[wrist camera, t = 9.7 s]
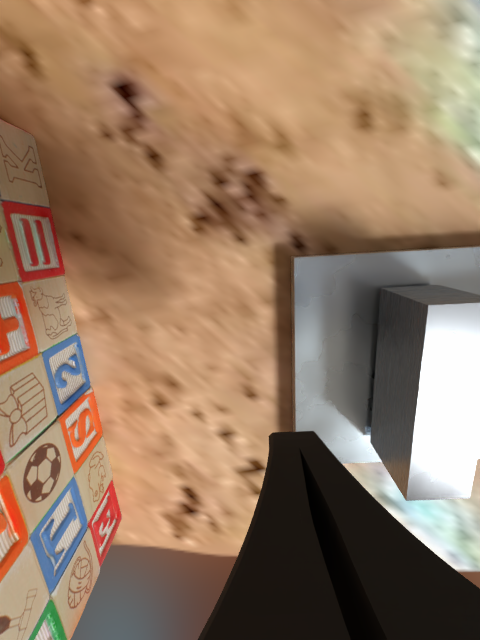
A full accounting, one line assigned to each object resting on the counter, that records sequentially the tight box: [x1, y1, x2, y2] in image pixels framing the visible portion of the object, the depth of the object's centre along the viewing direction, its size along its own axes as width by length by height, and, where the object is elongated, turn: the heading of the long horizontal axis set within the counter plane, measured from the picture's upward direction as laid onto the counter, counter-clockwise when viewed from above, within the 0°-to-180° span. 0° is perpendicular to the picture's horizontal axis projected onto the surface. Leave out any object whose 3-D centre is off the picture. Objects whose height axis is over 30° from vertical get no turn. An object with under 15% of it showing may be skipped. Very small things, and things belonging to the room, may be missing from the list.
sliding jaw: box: [370, 285, 480, 501], centre depth 12 cm, size 2×8×4 cm, turn 4°
